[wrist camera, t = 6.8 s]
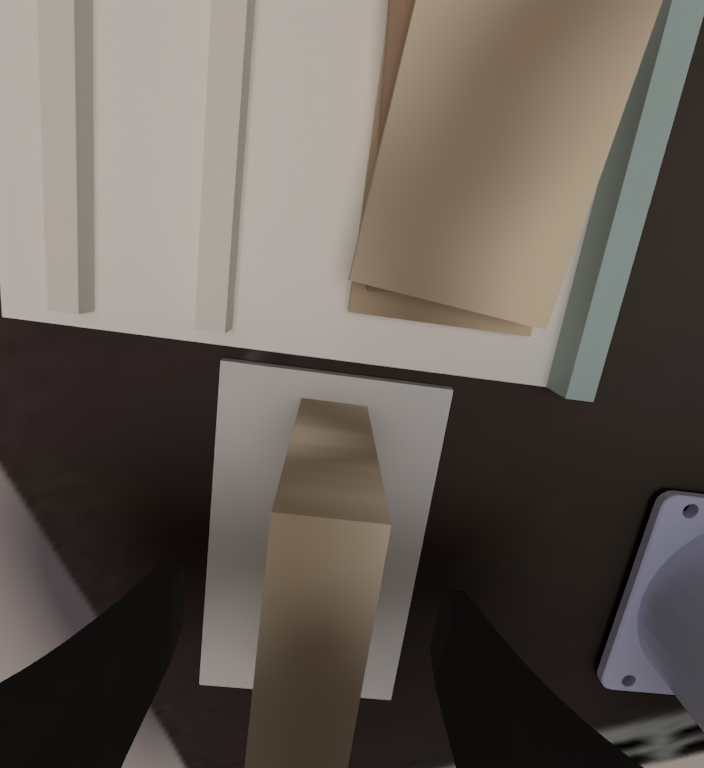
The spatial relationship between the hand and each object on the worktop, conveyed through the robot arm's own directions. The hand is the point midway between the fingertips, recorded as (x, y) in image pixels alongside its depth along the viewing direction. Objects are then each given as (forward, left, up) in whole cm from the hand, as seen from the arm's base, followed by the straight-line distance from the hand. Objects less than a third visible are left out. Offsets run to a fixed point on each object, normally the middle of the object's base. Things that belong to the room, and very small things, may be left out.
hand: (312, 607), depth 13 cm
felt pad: (0, 0, -3) cm, 3 cm away
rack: (+1, -13, -3) cm, 13 cm away
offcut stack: (-2, -13, -2) cm, 13 cm away
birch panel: (0, 0, -3) cm, 3 cm away
